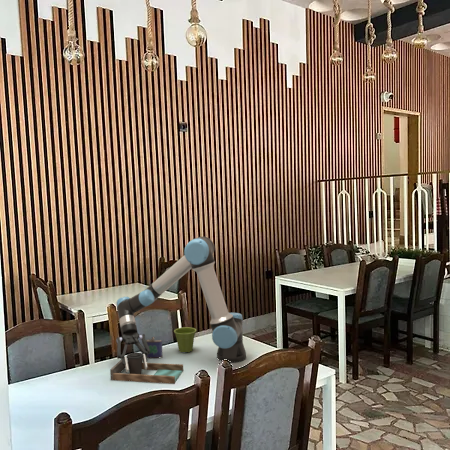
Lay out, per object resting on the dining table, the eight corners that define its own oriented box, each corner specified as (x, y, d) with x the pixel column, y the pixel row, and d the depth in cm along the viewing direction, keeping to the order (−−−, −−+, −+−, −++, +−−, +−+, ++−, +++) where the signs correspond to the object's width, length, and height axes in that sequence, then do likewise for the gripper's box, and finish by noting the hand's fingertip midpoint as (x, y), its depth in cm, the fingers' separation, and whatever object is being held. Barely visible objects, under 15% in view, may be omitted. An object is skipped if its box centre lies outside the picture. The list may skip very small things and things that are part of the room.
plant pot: (172, 348, 270) (172, 328, 269) (193, 346, 273) (193, 326, 273) (177, 355, 259) (176, 334, 258) (199, 353, 262) (198, 332, 261)
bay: (183, 370, 238) (183, 360, 237) (174, 383, 222) (173, 372, 221) (123, 367, 243) (123, 357, 242) (110, 380, 227) (110, 369, 227)
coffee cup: (140, 378, 228) (140, 357, 228) (123, 377, 230) (123, 356, 229) (146, 371, 236) (146, 351, 236) (130, 370, 238) (130, 350, 237)
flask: (162, 356, 258) (162, 336, 257) (161, 358, 255) (161, 338, 254) (145, 356, 258) (144, 336, 257) (144, 358, 255) (143, 338, 255)
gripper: (148, 327, 250) (157, 369, 237) (106, 333, 242) (113, 376, 228) (150, 320, 245) (160, 362, 231) (107, 325, 237) (115, 369, 223)
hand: (136, 369), depth 230 cm, fingers closed on coffee cup, 8 cm apart
